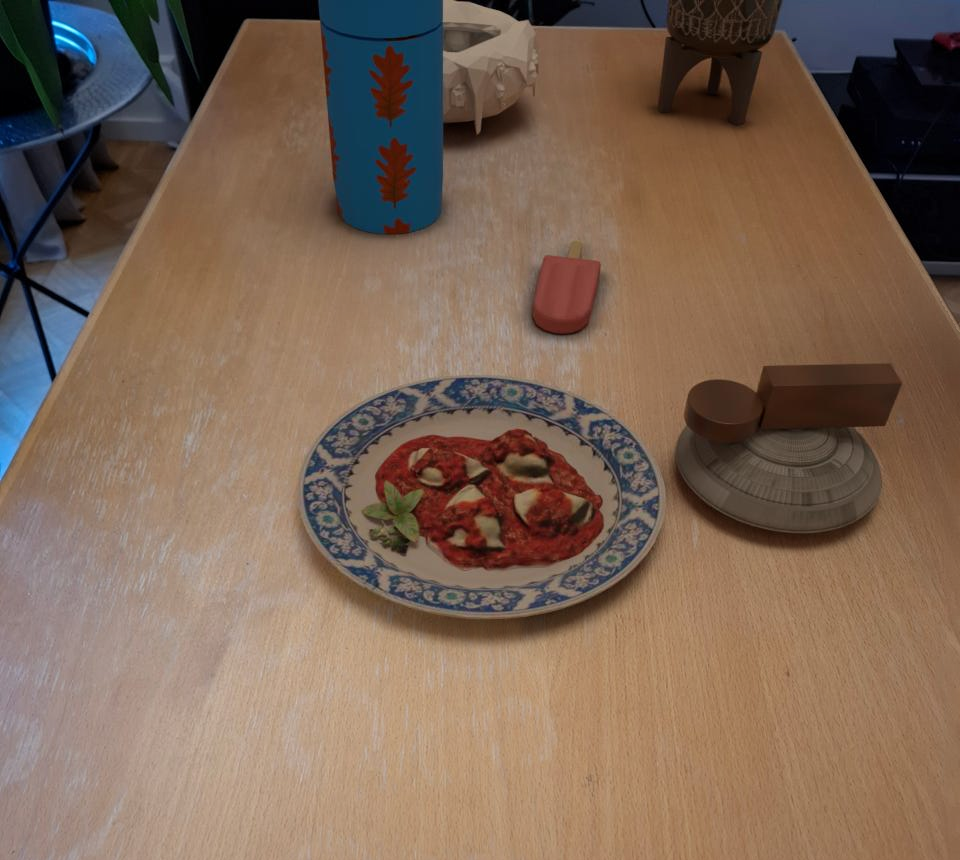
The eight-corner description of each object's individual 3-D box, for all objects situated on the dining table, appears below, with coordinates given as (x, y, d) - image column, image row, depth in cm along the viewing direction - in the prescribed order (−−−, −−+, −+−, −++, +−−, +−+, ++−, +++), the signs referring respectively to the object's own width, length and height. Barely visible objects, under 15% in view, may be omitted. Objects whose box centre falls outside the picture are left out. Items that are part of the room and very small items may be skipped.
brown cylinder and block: (867, 394, 72) (884, 351, 69) (892, 439, 69) (910, 395, 66) (676, 398, 71) (686, 355, 68) (692, 444, 68) (702, 399, 65)
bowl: (321, 115, 115) (313, 17, 107) (440, 67, 125) (439, -25, 118) (456, 171, 106) (457, 69, 99) (571, 115, 117) (580, 19, 109)
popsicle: (605, 238, 94) (589, 322, 85) (603, 253, 95) (587, 338, 86) (550, 231, 95) (527, 314, 85) (548, 247, 96) (526, 330, 86)
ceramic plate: (600, 382, 82) (605, 350, 79) (714, 609, 65) (724, 577, 63) (285, 415, 77) (280, 383, 75) (322, 666, 61) (317, 635, 59)
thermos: (344, 239, 96) (319, -70, 77) (328, 189, 103) (302, -106, 84) (453, 229, 98) (456, -74, 79) (431, 181, 105) (429, -110, 86)
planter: (663, 80, 124) (690, -91, 111) (766, 97, 122) (806, -76, 108) (639, 119, 116) (665, -60, 103) (748, 138, 114) (789, -43, 100)
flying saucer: (809, 404, 80) (829, 344, 76) (916, 525, 71) (945, 465, 67) (640, 435, 77) (651, 375, 73) (728, 566, 68) (747, 505, 64)
